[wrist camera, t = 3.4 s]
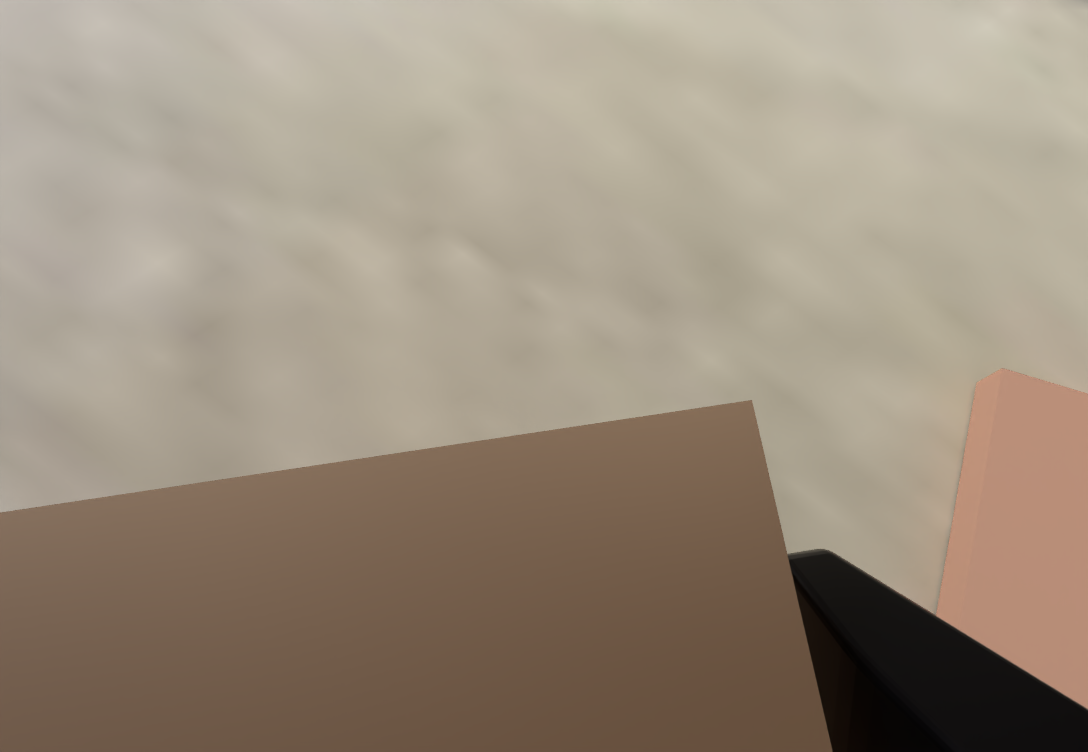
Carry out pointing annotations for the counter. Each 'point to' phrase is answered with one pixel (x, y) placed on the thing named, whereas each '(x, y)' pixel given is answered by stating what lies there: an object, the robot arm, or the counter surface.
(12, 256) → the counter surface
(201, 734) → the walnut block
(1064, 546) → the terracotta mat
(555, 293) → the counter surface
